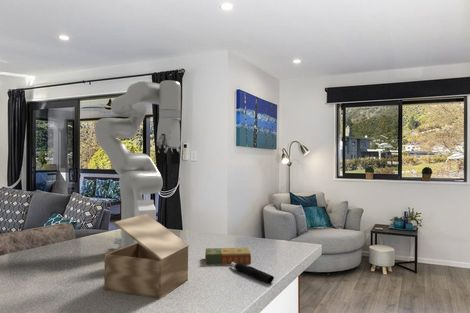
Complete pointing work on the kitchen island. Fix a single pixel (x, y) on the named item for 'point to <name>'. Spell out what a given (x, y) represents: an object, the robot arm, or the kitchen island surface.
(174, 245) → the lid flap
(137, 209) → the milk
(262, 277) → the black handled hook tool
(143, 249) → the wooden box
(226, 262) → the carton
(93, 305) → the kitchen island surface
